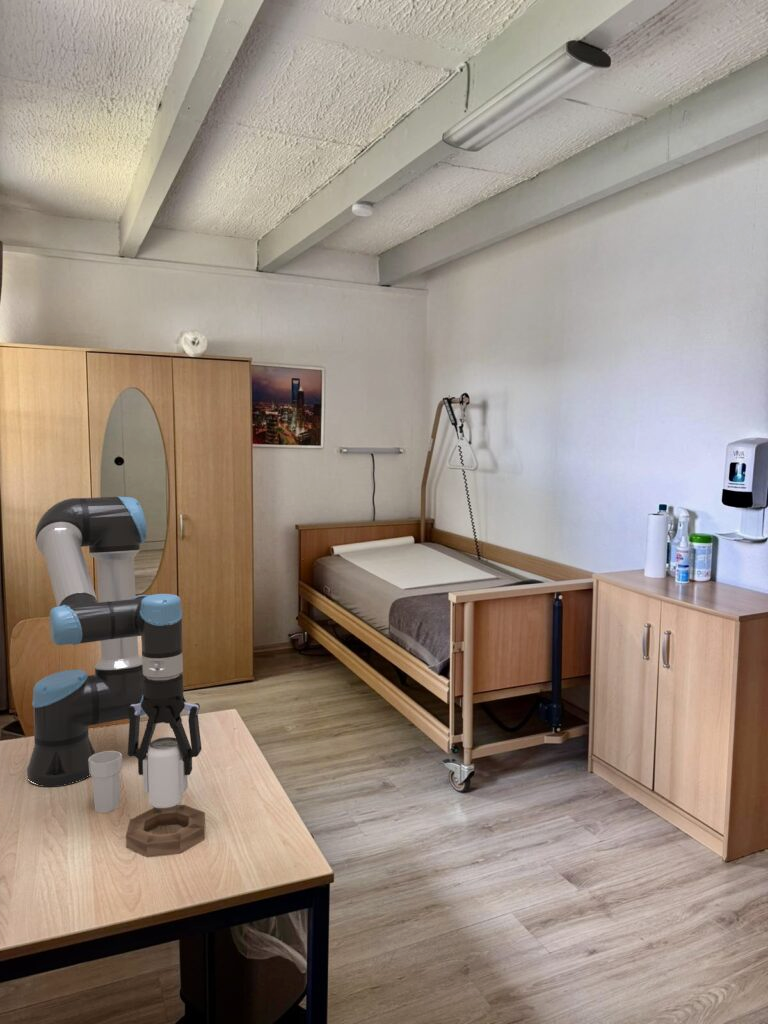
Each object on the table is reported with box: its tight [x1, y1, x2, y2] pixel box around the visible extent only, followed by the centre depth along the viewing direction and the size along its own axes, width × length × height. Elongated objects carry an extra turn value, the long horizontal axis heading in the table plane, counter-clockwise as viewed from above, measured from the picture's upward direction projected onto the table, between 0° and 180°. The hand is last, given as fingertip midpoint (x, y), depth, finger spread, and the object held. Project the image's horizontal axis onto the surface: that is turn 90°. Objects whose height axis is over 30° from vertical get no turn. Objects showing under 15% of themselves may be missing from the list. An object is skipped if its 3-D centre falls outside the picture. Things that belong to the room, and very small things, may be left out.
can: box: [147, 736, 184, 809], centre depth 144 cm, size 6×6×12 cm
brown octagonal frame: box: [125, 804, 206, 858], centre depth 145 cm, size 14×14×2 cm
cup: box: [88, 750, 123, 814], centre depth 156 cm, size 7×7×11 cm
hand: (165, 789), depth 144 cm, fingers closed on can, 6 cm apart
